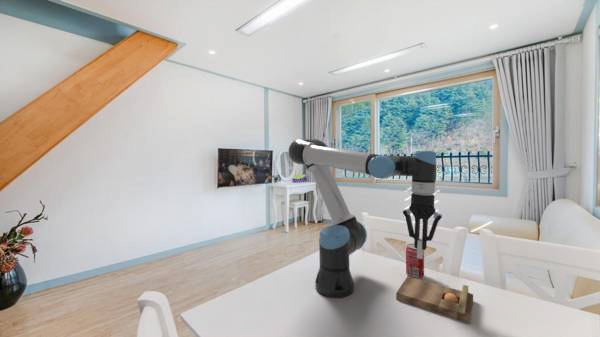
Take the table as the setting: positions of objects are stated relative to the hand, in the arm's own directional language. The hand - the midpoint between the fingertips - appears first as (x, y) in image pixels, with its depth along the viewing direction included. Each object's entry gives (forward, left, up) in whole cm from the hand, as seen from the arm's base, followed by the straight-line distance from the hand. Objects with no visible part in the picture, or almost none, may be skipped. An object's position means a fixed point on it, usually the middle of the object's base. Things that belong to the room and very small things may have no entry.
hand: (419, 257), depth 90 cm
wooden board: (+5, 0, -14) cm, 15 cm away
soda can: (-5, +16, -15) cm, 22 cm away
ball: (+10, 0, -12) cm, 16 cm away
